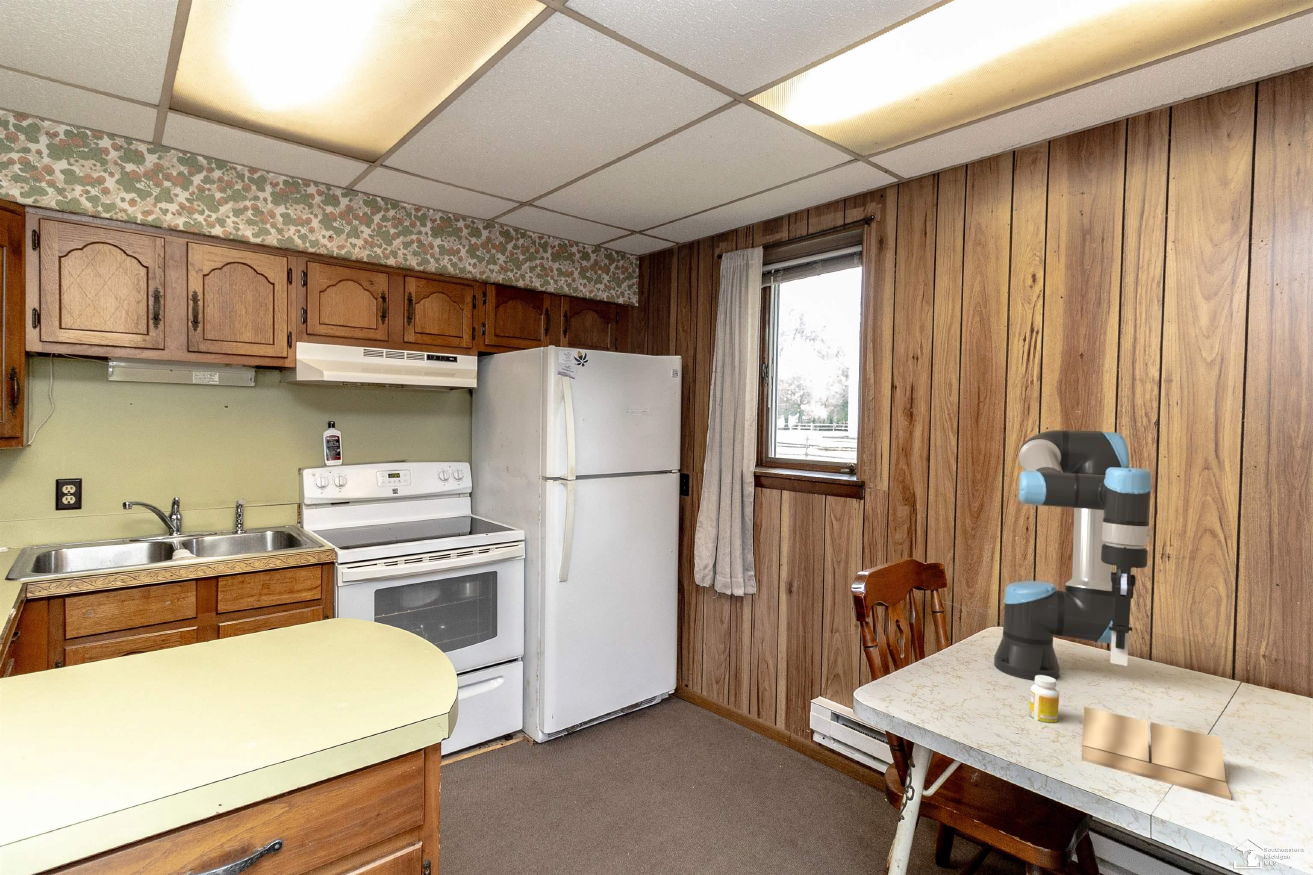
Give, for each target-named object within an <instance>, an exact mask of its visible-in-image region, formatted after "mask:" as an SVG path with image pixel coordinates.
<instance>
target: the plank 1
mask: <svg viewBox="0 0 1313 875" xmlns="http://www.w3.org/2000/svg"><path fill="white" fill-rule="evenodd" d="M1148 724H1149V721H1148V720H1144V719H1139V718H1136V717H1130V716H1126V715H1122V714H1118V713H1114V712H1109V711H1104V710H1099V709H1096V708H1091V707H1088V706H1084V708H1083V723H1082V739H1081V740H1082V741H1081V742H1082V743H1081V744H1082V745H1081V747H1082V746H1085V747H1089V748H1093V749H1097V750H1101V751H1105V752H1109V753H1112V754H1116V755H1120V756H1124V757H1128V758H1132V759H1136V760H1140V761H1144V762H1147V763H1150V762H1149V761H1150V758H1149V757H1150V756H1149V752H1150V750H1149V725H1148Z"/></svg>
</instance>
